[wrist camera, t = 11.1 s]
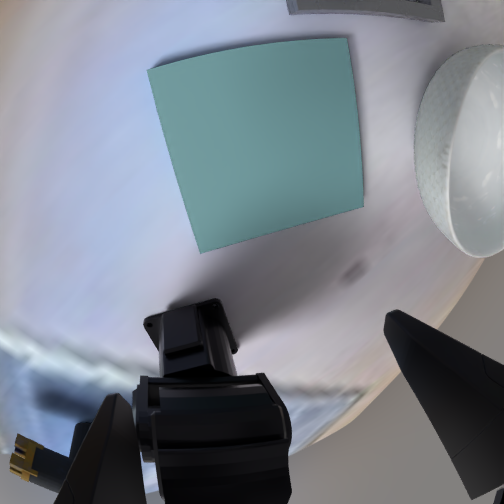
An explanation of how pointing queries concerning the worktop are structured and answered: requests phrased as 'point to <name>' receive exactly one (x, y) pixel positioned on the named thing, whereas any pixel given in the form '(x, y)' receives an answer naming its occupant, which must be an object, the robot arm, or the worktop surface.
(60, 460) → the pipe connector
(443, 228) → the cereal bowl
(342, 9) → the hollow square frame
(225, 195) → the board
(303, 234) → the worktop surface
